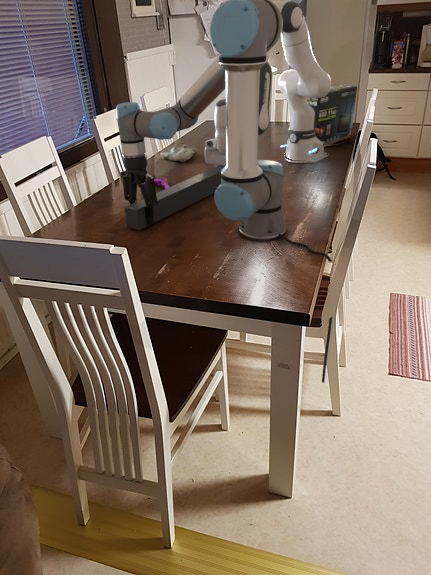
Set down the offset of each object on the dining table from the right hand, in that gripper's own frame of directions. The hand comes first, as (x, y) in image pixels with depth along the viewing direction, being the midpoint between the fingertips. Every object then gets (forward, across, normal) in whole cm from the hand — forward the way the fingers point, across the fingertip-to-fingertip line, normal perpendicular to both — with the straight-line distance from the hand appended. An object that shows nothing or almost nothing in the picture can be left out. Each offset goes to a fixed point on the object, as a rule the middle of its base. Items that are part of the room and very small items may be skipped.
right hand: (227, 176), depth 192 cm
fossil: (+3, +44, -20) cm, 48 cm away
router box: (+3, -8, -81) cm, 81 cm away
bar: (+3, 0, +25) cm, 26 cm away
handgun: (+3, +20, +20) cm, 28 cm away
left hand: (+2, 0, +51) cm, 51 cm away
